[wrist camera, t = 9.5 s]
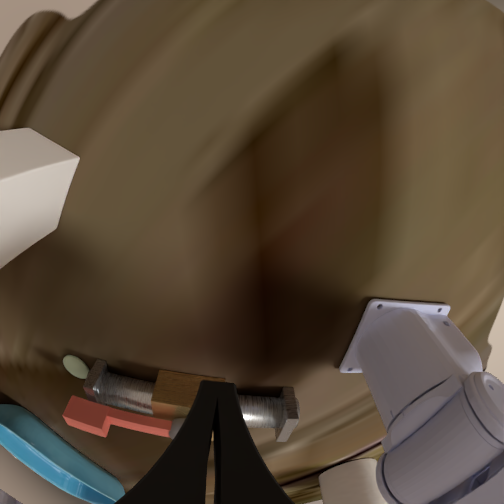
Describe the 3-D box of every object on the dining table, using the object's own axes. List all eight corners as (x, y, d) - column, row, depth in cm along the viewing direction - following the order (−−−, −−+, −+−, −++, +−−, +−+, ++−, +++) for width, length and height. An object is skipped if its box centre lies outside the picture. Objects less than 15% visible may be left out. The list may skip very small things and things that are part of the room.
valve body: (300, 383, 24) (306, 415, 21) (285, 415, 27) (289, 444, 23) (91, 353, 23) (76, 380, 19) (102, 388, 25) (91, 414, 21)
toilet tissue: (369, 451, 33) (384, 501, 24) (382, 466, 37) (394, 506, 28) (308, 474, 35) (316, 523, 26) (331, 485, 39) (339, 525, 30)
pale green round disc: (86, 359, 23) (85, 361, 23) (92, 379, 24) (91, 381, 24) (60, 351, 23) (59, 353, 22) (68, 372, 24) (67, 373, 24)
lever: (202, 420, 20) (200, 446, 18) (202, 435, 21) (199, 459, 19) (70, 390, 19) (60, 411, 17) (78, 407, 20) (70, 427, 18)
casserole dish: (-25, 386, 29) (-39, 408, 23) (13, 382, 26) (-7, 414, 20) (87, 481, 43) (81, 502, 36) (151, 490, 40) (147, 516, 34)
